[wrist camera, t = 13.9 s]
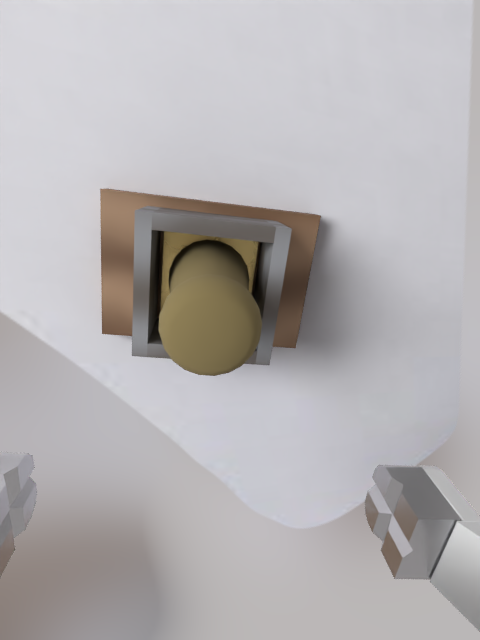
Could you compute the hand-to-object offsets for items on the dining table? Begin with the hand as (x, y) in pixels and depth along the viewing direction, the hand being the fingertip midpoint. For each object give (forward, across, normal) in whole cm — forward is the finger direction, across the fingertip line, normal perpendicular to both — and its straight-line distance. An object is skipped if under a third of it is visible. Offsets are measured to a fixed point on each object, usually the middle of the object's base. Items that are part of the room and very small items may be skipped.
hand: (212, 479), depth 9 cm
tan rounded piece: (+20, 0, 0) cm, 20 cm away
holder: (+22, 0, 0) cm, 22 cm away
